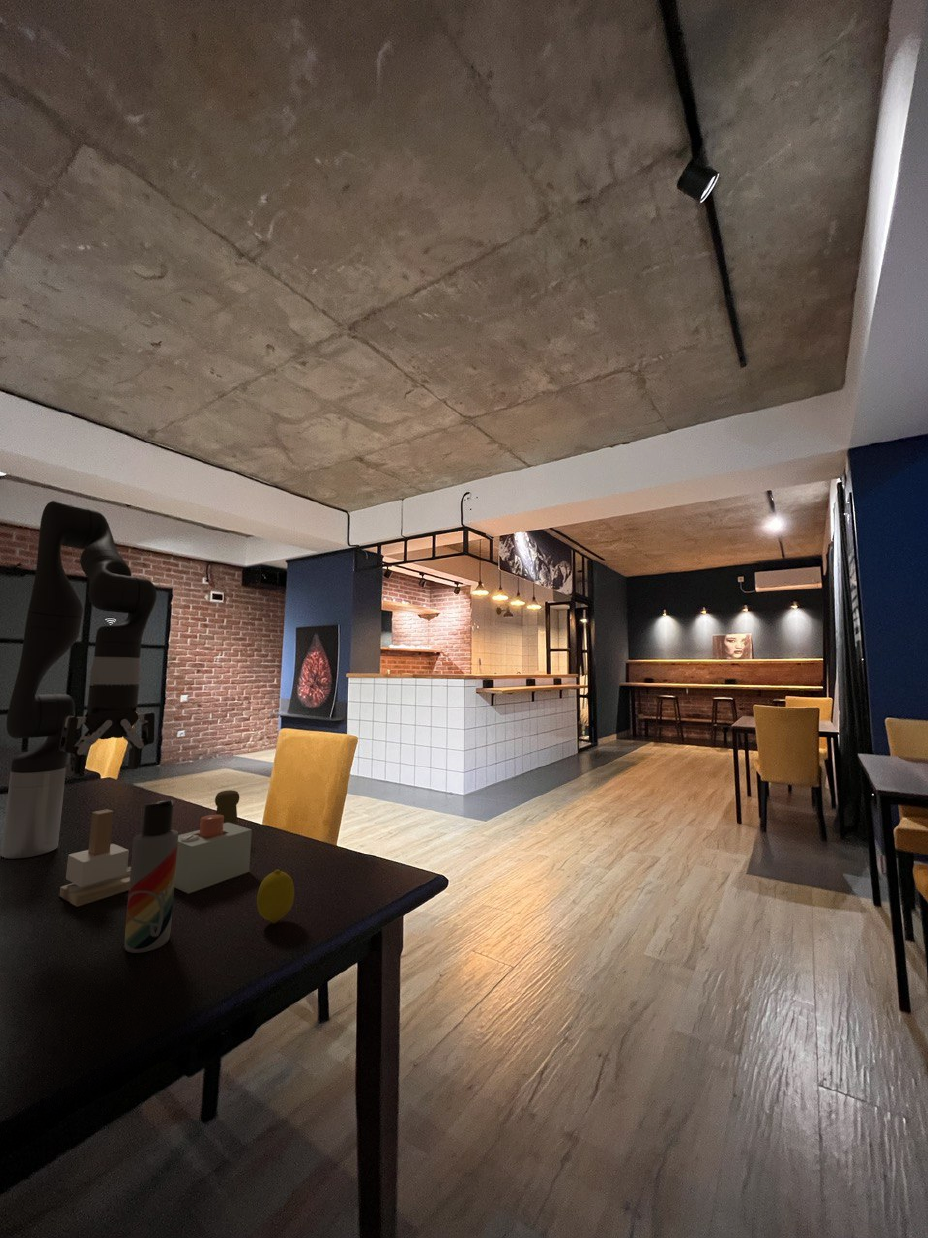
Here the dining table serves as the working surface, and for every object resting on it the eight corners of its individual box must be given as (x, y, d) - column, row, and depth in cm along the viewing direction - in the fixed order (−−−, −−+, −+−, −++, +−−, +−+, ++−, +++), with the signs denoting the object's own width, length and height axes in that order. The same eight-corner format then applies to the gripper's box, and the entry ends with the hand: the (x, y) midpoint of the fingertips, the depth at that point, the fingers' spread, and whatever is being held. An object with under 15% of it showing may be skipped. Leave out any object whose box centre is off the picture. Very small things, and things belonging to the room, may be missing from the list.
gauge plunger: (194, 850, 95) (196, 818, 96) (214, 844, 98) (216, 813, 99) (206, 855, 93) (208, 821, 94) (226, 849, 96) (228, 816, 97)
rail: (59, 896, 86) (62, 868, 87) (200, 853, 107) (202, 831, 108) (76, 906, 82) (79, 878, 83) (219, 860, 103) (221, 838, 104)
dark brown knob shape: (227, 845, 112) (230, 795, 114) (203, 843, 114) (207, 793, 115) (244, 837, 118) (247, 789, 119) (221, 834, 119) (225, 787, 121)
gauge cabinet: (164, 882, 92) (168, 835, 93) (225, 862, 102) (228, 820, 103) (188, 893, 88) (192, 844, 89) (249, 871, 98) (251, 827, 99)
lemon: (300, 918, 80) (302, 866, 81) (276, 935, 75) (279, 879, 76) (271, 912, 82) (274, 861, 83) (247, 928, 77) (250, 873, 78)
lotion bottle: (135, 958, 68) (148, 807, 70) (116, 946, 71) (129, 801, 73) (178, 940, 73) (188, 799, 75) (157, 929, 76) (168, 794, 78)
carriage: (65, 878, 87) (72, 813, 88) (111, 866, 92) (116, 804, 94) (80, 887, 83) (87, 819, 85) (126, 873, 89) (132, 810, 90)
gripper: (146, 681, 100) (138, 764, 98) (59, 681, 88) (49, 776, 86) (165, 682, 96) (158, 769, 94) (78, 683, 84) (68, 782, 82)
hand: (106, 772), depth 90 cm, fingers open, 8 cm apart
